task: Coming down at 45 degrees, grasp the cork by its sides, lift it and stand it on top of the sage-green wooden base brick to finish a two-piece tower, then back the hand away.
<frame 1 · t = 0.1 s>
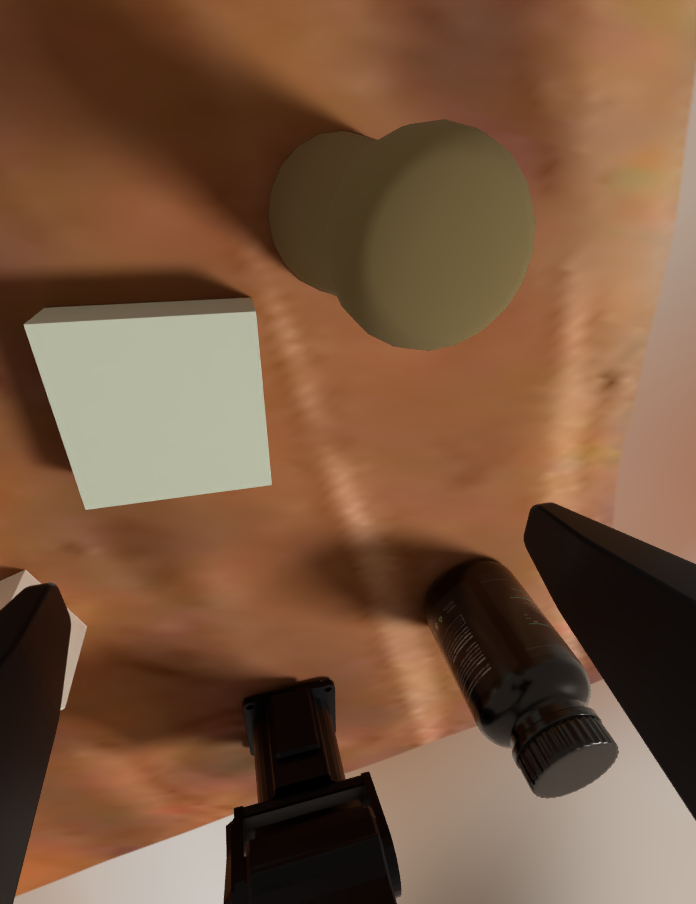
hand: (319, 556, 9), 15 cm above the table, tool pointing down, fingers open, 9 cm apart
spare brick: (14, 617, 26), on the table
base brick: (169, 393, 22), on the table
cork: (340, 217, 20), on the table
supplement bottle: (465, 591, 34), on the table
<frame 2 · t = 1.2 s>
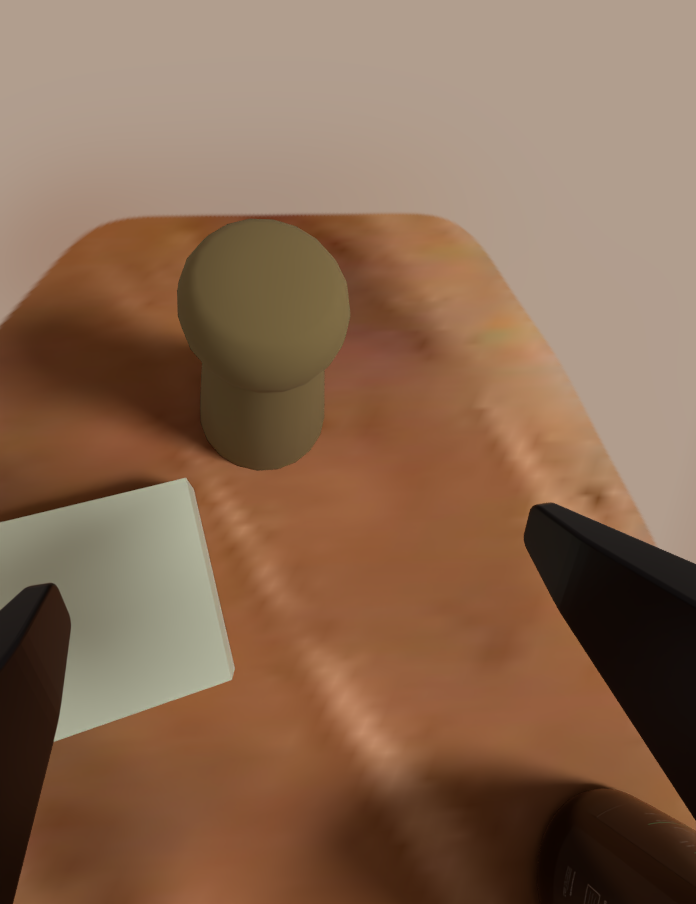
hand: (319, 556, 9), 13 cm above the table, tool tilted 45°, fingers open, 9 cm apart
base brick: (117, 603, 20), on the table
cork: (263, 412, 24), on the table
supplement bottle: (600, 871, 21), on the table
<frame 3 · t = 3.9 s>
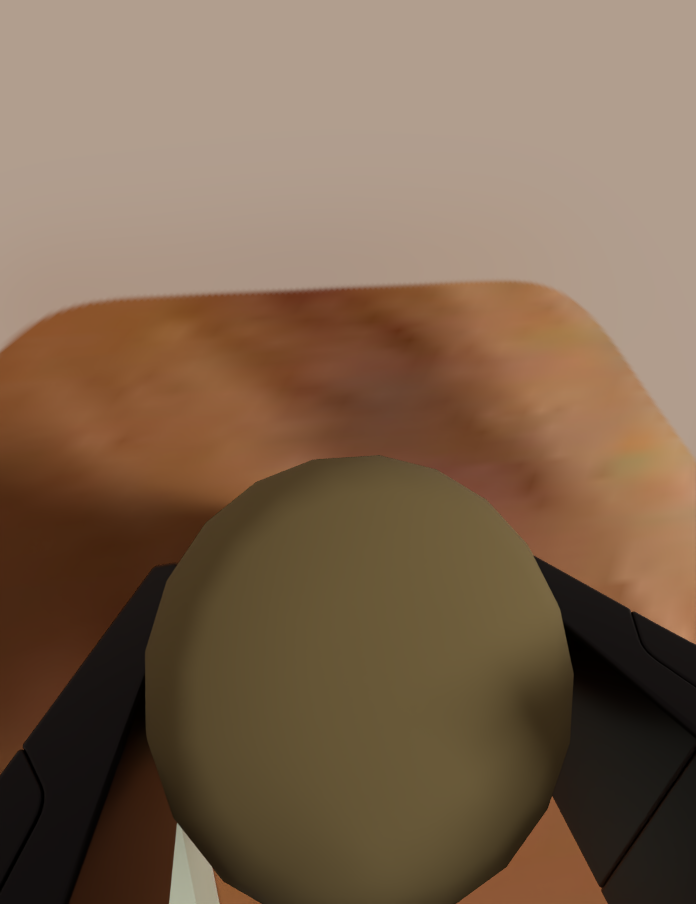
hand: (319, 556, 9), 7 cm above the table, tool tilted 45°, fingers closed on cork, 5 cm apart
cork: (299, 612, 15), on the table, touching gripper
when the fingers open (10 cm above the table, at t = 6.8 s): cork stays where it is, resting on base brick.
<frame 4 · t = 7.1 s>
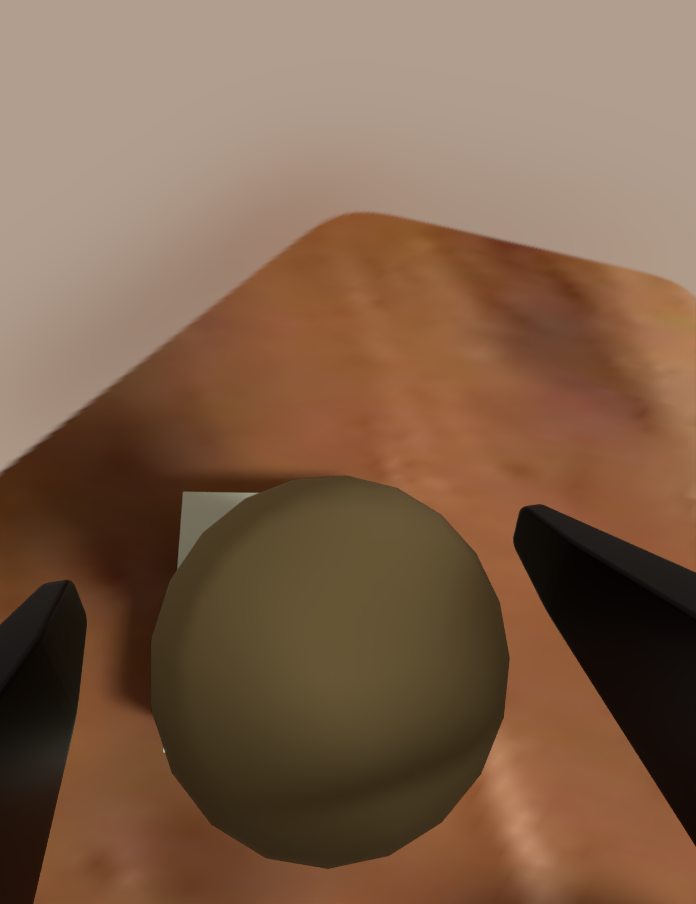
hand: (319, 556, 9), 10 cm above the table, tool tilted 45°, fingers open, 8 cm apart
base brick: (292, 606, 19), on the table
cork: (298, 613, 16), point 2 cm above the table, touching base brick
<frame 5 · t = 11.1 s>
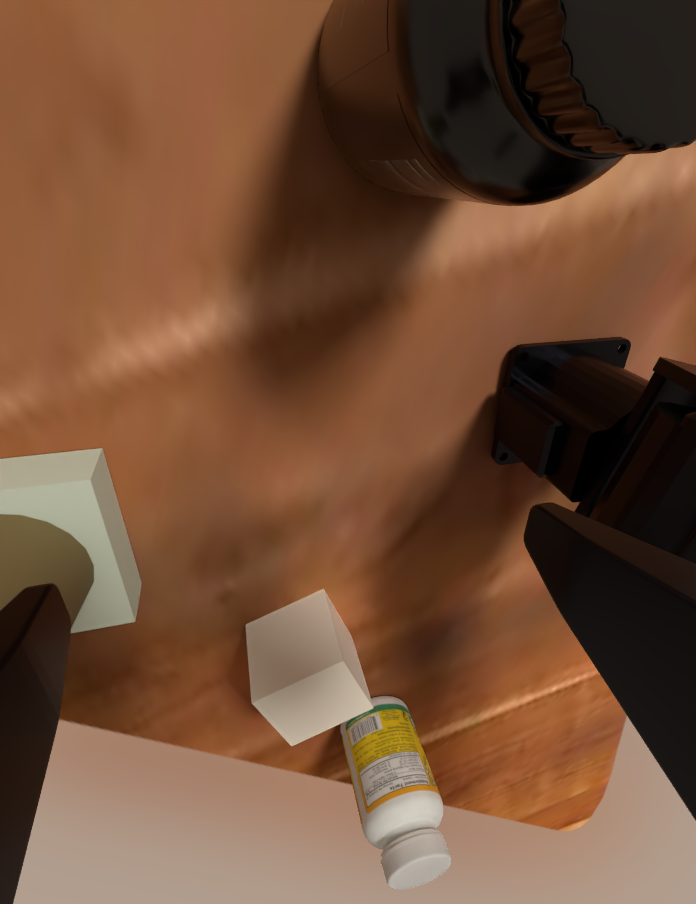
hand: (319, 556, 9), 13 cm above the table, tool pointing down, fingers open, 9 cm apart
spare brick: (300, 629, 29), on the table
base brick: (29, 534, 22), on the table
cork: (14, 569, 20), point 2 cm above the table, touching base brick
supplement bottle 2: (372, 713, 36), on the table
supplement bottle: (408, 82, 17), on the table
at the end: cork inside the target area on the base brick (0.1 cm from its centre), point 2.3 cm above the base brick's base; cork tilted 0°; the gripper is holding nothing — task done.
